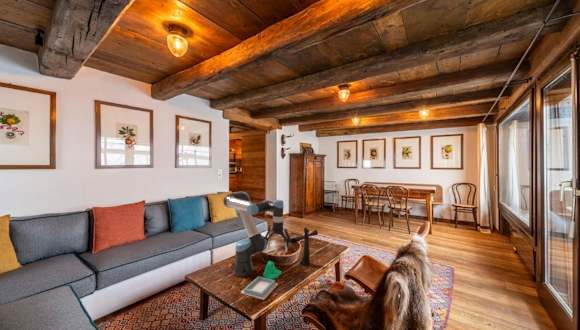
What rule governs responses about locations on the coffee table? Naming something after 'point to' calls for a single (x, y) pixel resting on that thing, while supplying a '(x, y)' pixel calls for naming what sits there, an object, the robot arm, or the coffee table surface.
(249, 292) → the dock
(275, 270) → the camera mount
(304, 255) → the flared trumpet-armed statue
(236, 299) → the coffee table surface
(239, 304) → the coffee table surface
